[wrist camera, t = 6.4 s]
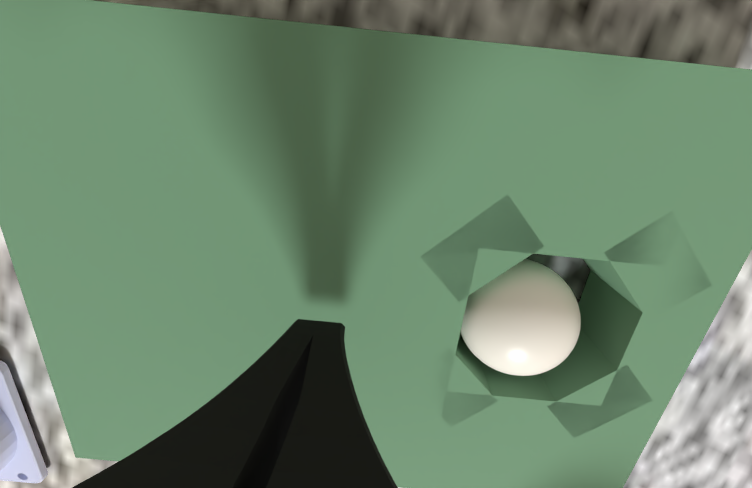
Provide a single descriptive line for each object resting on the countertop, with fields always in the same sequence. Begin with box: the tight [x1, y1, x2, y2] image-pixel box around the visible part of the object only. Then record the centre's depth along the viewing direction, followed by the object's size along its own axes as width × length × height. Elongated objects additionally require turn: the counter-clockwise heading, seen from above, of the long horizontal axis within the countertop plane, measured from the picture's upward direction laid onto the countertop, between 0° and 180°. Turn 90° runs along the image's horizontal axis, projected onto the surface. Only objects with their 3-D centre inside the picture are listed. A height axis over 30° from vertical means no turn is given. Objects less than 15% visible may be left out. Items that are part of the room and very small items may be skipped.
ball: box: [460, 259, 581, 376], centre depth 12 cm, size 4×4×4 cm
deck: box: [0, 0, 752, 488], centre depth 13 cm, size 22×16×3 cm
